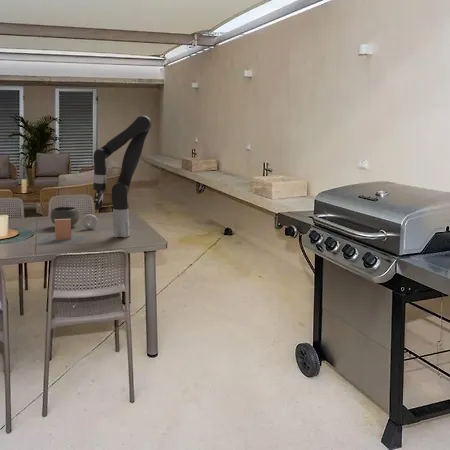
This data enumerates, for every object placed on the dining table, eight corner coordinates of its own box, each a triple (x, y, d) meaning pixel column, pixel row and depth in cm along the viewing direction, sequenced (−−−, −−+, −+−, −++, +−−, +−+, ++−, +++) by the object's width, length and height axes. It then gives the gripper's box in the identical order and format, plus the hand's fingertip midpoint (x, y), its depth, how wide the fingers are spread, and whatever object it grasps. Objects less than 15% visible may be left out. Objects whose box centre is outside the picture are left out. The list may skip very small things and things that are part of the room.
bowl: (83, 224, 361) (82, 206, 359) (73, 230, 343) (72, 210, 341) (58, 224, 363) (57, 205, 360) (46, 229, 345) (45, 210, 343)
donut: (82, 230, 344) (81, 214, 342) (82, 229, 347) (81, 214, 345) (98, 229, 346) (97, 214, 344) (98, 228, 349) (97, 213, 347)
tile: (55, 239, 314) (54, 219, 312) (71, 238, 317) (70, 218, 315) (55, 240, 312) (54, 220, 310) (71, 239, 316) (70, 219, 313)
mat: (88, 236, 326) (88, 235, 326) (78, 245, 302) (78, 244, 302) (49, 235, 326) (49, 235, 325) (35, 244, 302) (35, 244, 302)
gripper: (103, 183, 313) (102, 211, 317) (108, 181, 327) (107, 207, 330) (90, 182, 313) (89, 210, 316) (96, 180, 327) (95, 206, 330)
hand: (98, 208), depth 323 cm, fingers open, 8 cm apart
